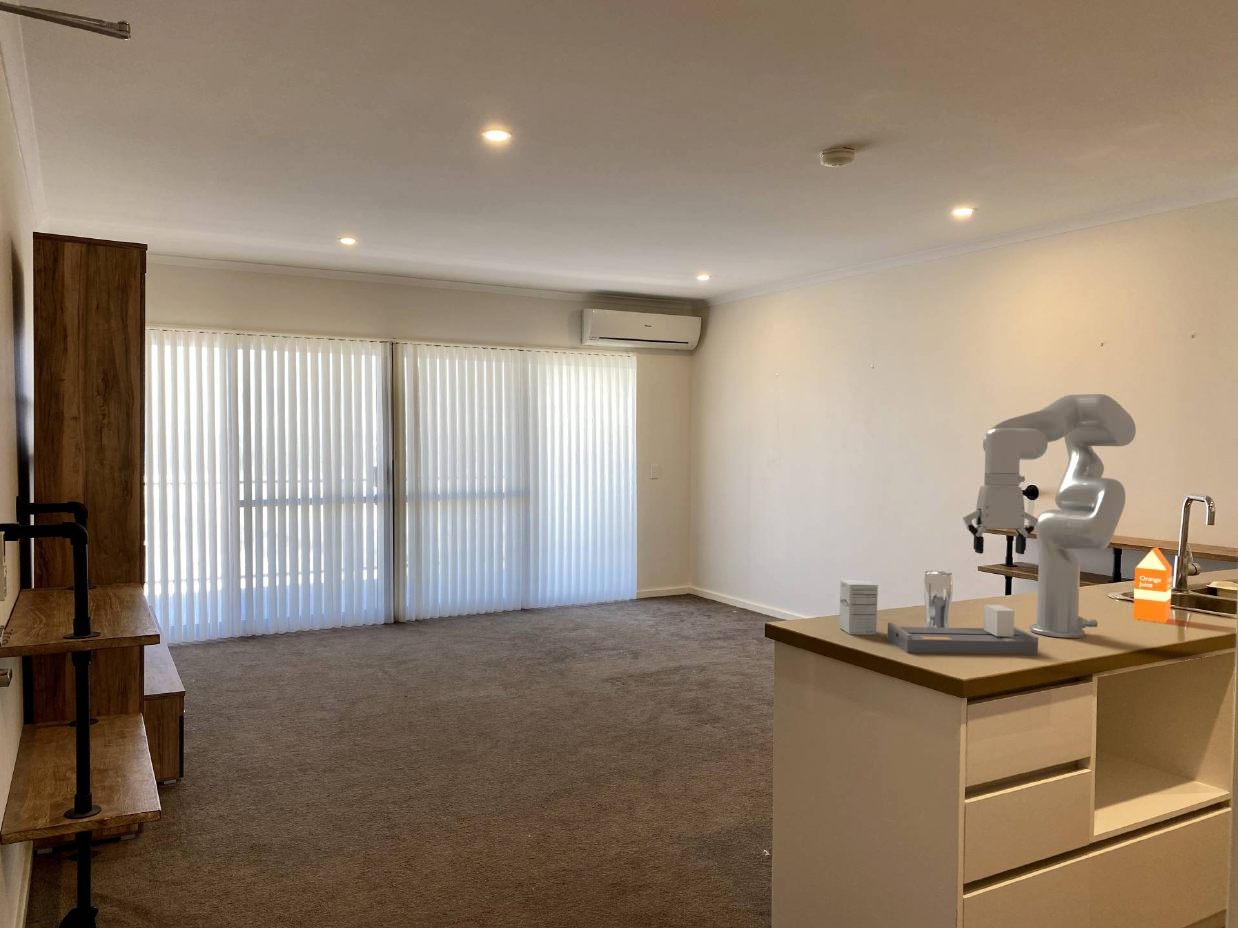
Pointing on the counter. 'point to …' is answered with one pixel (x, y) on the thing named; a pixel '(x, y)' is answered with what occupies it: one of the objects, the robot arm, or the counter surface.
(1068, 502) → the robot arm
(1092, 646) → the counter surface
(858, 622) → the supplement box
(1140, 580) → the orange juice
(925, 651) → the fader board
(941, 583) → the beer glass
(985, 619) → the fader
